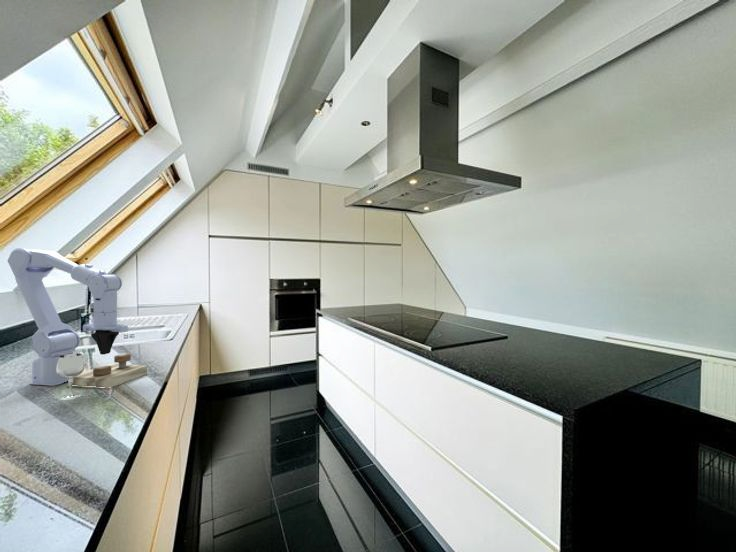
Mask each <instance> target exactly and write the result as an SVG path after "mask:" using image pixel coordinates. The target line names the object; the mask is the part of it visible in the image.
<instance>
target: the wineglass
mask: <svg viewBox="0 0 736 552" xmlns="http://www.w3.org/2000/svg"><path fill="white" fill-rule="evenodd" d="M85 365H86V363H85V358H84V356H83V353H80V352H79V353H78V352H77V353H76V352H75V353H73V354H67V355H63V356H60V357H59V359H58V363H57V367H56V371H57V374H58V376H60V377H62V378H69V381H68V382H67V383H68V387H69V392H68V394H67V395H64V396H65V397H64V396H63V397H64V398H70V397H74V396H76V395H77V394H78V393H73V390H72V389H73V388H72V387H73V386H72V383H73V379H72V378H73V377H76V376H78V375H80V374H81V373H82V372H84V370H85Z"/></svg>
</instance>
